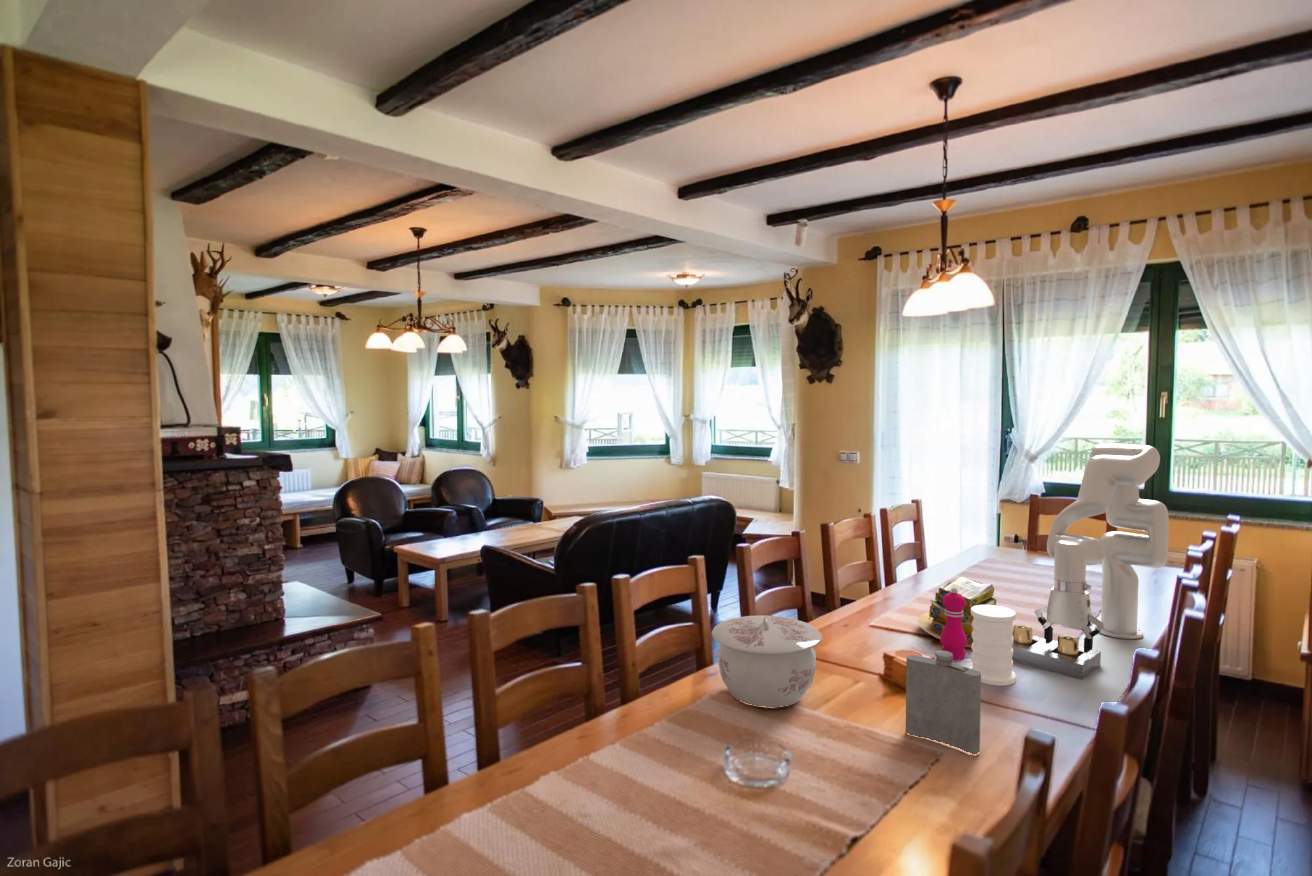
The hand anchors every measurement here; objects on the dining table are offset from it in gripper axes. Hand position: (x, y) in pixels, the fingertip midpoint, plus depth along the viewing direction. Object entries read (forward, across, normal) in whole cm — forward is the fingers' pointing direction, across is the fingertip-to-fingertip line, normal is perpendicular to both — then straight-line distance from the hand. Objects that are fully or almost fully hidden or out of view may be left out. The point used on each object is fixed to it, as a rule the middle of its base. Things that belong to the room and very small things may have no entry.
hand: (1067, 646), depth 198 cm
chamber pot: (+6, +44, +75) cm, 87 cm away
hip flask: (+6, +3, +65) cm, 65 cm away
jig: (+5, +6, 0) cm, 8 cm away
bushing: (+5, 0, 0) cm, 5 cm away
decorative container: (+6, +11, +22) cm, 25 cm away
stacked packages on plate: (+6, +32, -4) cm, 33 cm away
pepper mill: (+6, +25, +15) cm, 30 cm away
